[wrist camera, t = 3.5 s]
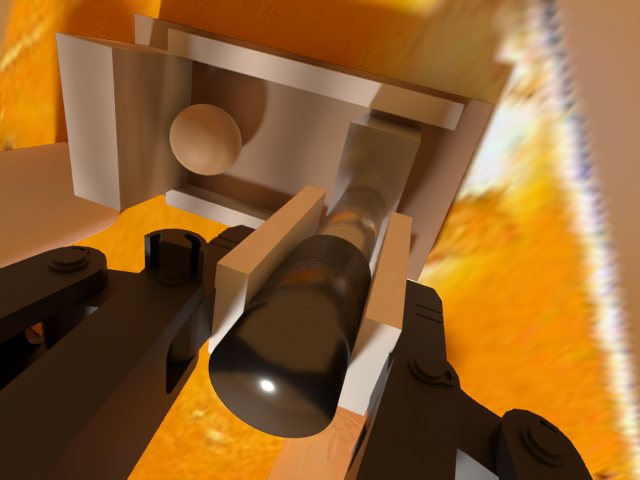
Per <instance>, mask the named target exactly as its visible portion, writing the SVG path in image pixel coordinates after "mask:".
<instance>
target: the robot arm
mask: <svg viewBox="0 0 640 480" xmlns="http://www.w3.org/2000/svg"><path fill="white" fill-rule="evenodd" d="M325 195H326V190H323V189H319V188H316V187H313V186H310V185H307V186H306V187H305V188H304V189H303V190H302V191H300V192H299V193H298V194H297V195H296V196H295V197H293V198H292V199H291V200H290V201H289V202H288V203H286V204H285V205H284V206H283V207H282V208H281V209H279V210H278V211H277V212H276V213H275V214H274V215H272V216H271V217H270V218H269V219H268V220H267V221H265V222H264V223H263V224H262V225H261V226H260V227H258V228H257V229H253V228H250V227H247V226H245V225H238V226H234V227H231V228H227V229H226V230H225V231H223V232H222V233H221V234H219V235H218V237H215V238H214V239H212V240H211V241H210V243H206V240H205V239H204V238H203V237H202V236H200V235H199V234H196V233H194V232H191V231H188V230H182V229H163V230H157V231H153V232H151V233H149V234H147V235H145V268H144V269H143V270H142V271H141V272H140V273H133V272H125V271H118V270H111V269H107V261H106V257H105V255H104V254H103V253H102V252H101V251H99V250H97V249H94V248H90V247H84V246H69V247H60V248H56V249H52V250H49V251H46V252H43V253H40V254H38V255H35V256H32V257H29V258H27V259H24V260H21V261H19V262H16V263H13V264H11V265H8V266H5V267H2V268H0V480H127V479H128V477H129V475H130V474H131V472H132V470H133V469H134V467H135V465H136V464H137V462H138V461H139V459H140V457H141V456H142V454H143V452H144V451H145V449H146V447H147V446H148V444H149V443H150V441H151V439H152V438H153V436H154V434H155V433H156V431H157V429H158V428H159V426H160V424H161V423H162V421H163V420H164V418H165V416H166V415H167V413H168V411H169V410H170V408H171V406H172V405H173V403H174V401H175V400H176V398H177V397H178V395H179V393H180V392H181V390H182V388H183V387H184V385H185V383H186V382H187V380H188V379H189V377H190V375H191V374H192V372H193V370H194V369H195V367H196V364H197V362H198V358H199V349H200V348H201V347H202V345H203V344H204V343H205V342H206V341H207V340H208V338H209V337H210V339H209V349H208V353H210V354H212V352H213V350H214V348H215V347H216V346H217V345H218V343H219V342H220V341H221V340H222V338H223V337H224V336H225V335H226V333H227V332H228V331H229V329H230V328H231V327H232V326H233V324H234V323H235V322H236V321H237V319H238V318H239V317H240V316H241V314H242V313H243V312H244V311H245V309H246V308H247V307H248V306H249V304H250V303H251V302H252V301H253V299H254V298H255V297H256V296H257V294H258V293H259V292H260V291H261V289H262V288H263V287H264V286H265V284H266V283H267V282H268V281H269V279H270V278H271V277H272V276H273V274H274V273H275V272H276V271H277V269H278V268H279V267H280V266H281V264H282V263H283V262H284V261H285V259H286V258H287V257H288V256H289V254H290V253H291V252H292V251H293V249H294V248H295V247H296V246H297V245H298V244H299V243H300V242H301V241H303V240H304V239H306V238H309V237H311V236H312V235H313V234H314V232H315V231H316V230H317V228H318V224H319V220H320V216H321V211H322V207H323V203H324V199H325ZM411 227H412V217H409V216H406V215H402V214H399V213H396V212H393V211H392V214H391V217H390V220H389V223H388V225H387V228H386V231H385V234H384V237H383V240H382V243H381V245H380V248H379V251H378V254H377V257H376V260H375V262H374V265H373V268H372V271H371V284H370V287H369V291H368V295H367V298H366V302H365V306H364V309H363V313H362V317H361V320H360V324H359V328H358V331H357V335H356V339H355V342H354V346H353V350H352V353H351V357H350V362H349V365H348V369H347V373H346V376H345V380H344V384H343V387H342V391H341V395H340V398H339V402H338V406H340V407H342V408H345V409H347V410H350V411H352V412H355V413H357V414H360V415H362V416H364V414H365V412H366V410H367V407H368V411H367V417H366V421H365V423H364V425H363V427H362V430H361V432H360V434H359V436H358V439H357V441H356V443H355V445H354V447H353V450H352V452H351V455H352V457H351V460H350V463H349V465H348V468H347V471H346V474H345V477H344V480H593V479H592V477H591V475H590V473H589V471H588V469H587V467H586V465H585V463H584V462H583V460H582V458H581V456H580V454H579V453H578V451H577V450H576V448H575V447H574V445H573V444H572V442H571V441H570V440H569V439H568V438H567V437H566V436H565V435H564V434H563V433H562V432H561V431H560V430H559V429H558V428H557V427H556V426H554V425H553V424H551V423H550V422H549V421H547V420H546V419H544V418H543V417H541V416H539V415H537V414H534V413H532V412H530V411H528V410H521V409H513V410H510V411H507V412H506V413H505V414H504V415H503V417H502V418H501V417H499V416H498V415H496V414H495V413H493V412H491V411H490V410H488V409H487V408H485V407H484V406H482V405H481V404H479V403H478V402H476V401H475V400H473V399H472V398H471V397H469V396H468V395H467V394H466V393H465V392H464V391H463V390H462V389H461V388H460V382H459V377H458V375H457V373H456V372H455V370H454V368H453V367H452V366H451V365H450V364H449V363H448V362H447V359H446V347H445V334H444V325H443V323H444V321H443V315H442V314H443V308H442V300H441V299H440V297H439V296H438V294H437V293H436V291H435V289H433V288H430V287H427V286H424V285H421V284H418V283H415V282H413V281H410V280H407V270H408V259H409V248H410V238H411ZM40 322H41V327H42V331H43V335H42V336H40V337H38V336H37V335H36V334H35V333H34V332H33V331H31V330H30V329H29V328H30V327H32V326H34V325H36V324H38V323H40ZM368 405H369V406H368Z"/></svg>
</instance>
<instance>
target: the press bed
mask: <svg viewBox="0 0 640 480" xmlns="http://www.w3.org/2000/svg"><path fill="white" fill-rule="evenodd" d="M134 24H135V43H128V42H121V41H114V40H107V39H100V38H93V37H86V36H79V35H72V34H65V33H58V32H55V33H56V42H57V50H58V58H59V67H60V75H61V84H62V92H63V100H64V109H65V117H66V126H67V134H68V143H69V151H70V159H71V168H72V176H73V185H74V193H75V195H76V196H79V197H82V198H84V199H87V200H90V201H93V202H96V203H99V204H101V205H104V206H107V207H110V208H113V209H115V210H118V211H122V210H125V209H127V208H130V207H132V206H134V205H137V204H139V203H142V202H144V201H146V200H149V199H151V198H154V197H156V196H158V195H164V196H166V204H167V205H170V206H173V207H176V208H179V209H182V210H185V211H188V212H191V213H193V214H196V215H199V216H202V217H205V218H208V219H211V220H214V221H217V222H220V223H223V224H225V225H228V226H231V227H234V226H238V225H245V226H247V227H250V228H253V229H257V228H258V227H260V226H261V225H262V224H263V223H264V222H265V221H267V220H268V219H269V218H270V217H271V216H272V215H274V214H275V213H276V212H277V211H278V210H279V209H281V208H282V207H283V206H284V205H285V204H286V203H288V202H289V201H290V200H291V199H292V198H293V197H295V196H296V195H297V194H298V193H299V192H300V191H302V190H303V189H304V188H305V187H306V186H307V185H310V186H313V187H316V188H319V189H323V190H326V195H325V199H324V203H323V207H322V211H321V216H320V220H319V224H318V227H319V226H320V224H321V223H322V222H323V220H324V219H325V218H326V215H327V211H328V207H329V203H330V199H331V195H332V191H333V187H334V183H335V179H336V175H337V172H338V168H339V164H340V160H341V156H342V152H343V148H344V144H345V140H346V136H347V132H348V128H349V124H350V122H351V121H353V120H355V119H357V118H359V117H361V116H363V115H365V114H367V113H369V114H373V115H377V116H380V117H384V118H388V119H391V120H395V121H399V122H402V123H406V124H410V125H413V126H417V127H421V128H422V131H421V142H420V145H419V148H418V151H417V153H416V156H415V159H414V162H413V165H412V167H411V170H410V173H409V176H408V179H407V181H406V184H405V187H404V190H403V193H402V195H401V198H400V201H399V204H398V207H397V210H396V213H399V214H402V215H406V216H409V217H412V227H411V238H410V248H409V259H408V270H407V278H408V279H411V280H414V281H418V278H419V276H420V274H421V272H422V269H423V267H424V265H425V262H426V260H427V258H428V255H429V253H430V251H431V248H432V246H433V244H434V242H435V239H436V237H437V235H438V232H439V230H440V228H441V225H442V223H443V221H444V218H445V216H446V214H447V212H448V209H449V207H450V205H451V202H452V200H453V198H454V195H455V193H456V191H457V188H458V186H459V184H460V182H461V179H462V177H463V175H464V172H465V170H466V168H467V165H468V163H469V161H470V158H471V156H472V154H473V152H474V149H475V147H476V145H477V142H478V140H479V138H480V135H481V133H482V131H483V128H484V126H485V124H486V122H487V119H488V117H489V115H490V112H491V110H492V108H493V104H489V103H485V102H481V101H478V100H474V99H470V98H466V97H462V96H458V95H454V94H450V93H446V92H442V91H438V90H434V89H430V88H427V87H423V86H419V85H415V84H411V83H407V82H403V81H399V80H395V79H391V78H387V77H383V76H379V75H376V74H372V73H368V72H364V71H360V70H356V69H352V68H348V67H344V66H340V65H336V64H332V63H329V62H325V61H321V60H317V59H313V58H309V57H305V56H301V55H297V54H293V53H289V52H285V51H281V50H278V49H274V48H270V47H266V46H262V45H258V44H254V43H250V42H246V41H242V40H238V39H234V38H230V37H227V36H223V35H219V34H215V33H211V32H207V31H203V30H199V29H195V28H191V27H187V26H183V25H180V24H176V23H172V22H168V21H164V20H160V19H156V18H152V17H148V16H144V15H140V14H136V13H134ZM196 104H209V105H213V106H216V107H219V108H221V109H222V110H224V111H225V112H227V113H228V114H229V115H230V116H231V117H232V118H233V119H234V121H235V122H236V124H237V125H238V127H239V130H240V133H241V137H242V148H241V152H240V155H239V157H238V159H237V161H236V162H235V164H234V165H233V166H232V167H231V168H229V169H228V170H226V171H225V172H223V173H220V174H216V175H201V174H197V173H195V172H193V171H191V170H189V169H187V168H186V167H185V166H183V165H182V164H181V163H180V162H179V161H178V159H177V158H176V156H175V155H174V153H173V150H172V148H171V144H170V129H171V126H172V123H173V121H174V119H175V118H176V116H177V115H178V114H179V113H180V112H181V111H182V110H184V109H185V108H187V107H189V106H192V105H196Z"/></svg>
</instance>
